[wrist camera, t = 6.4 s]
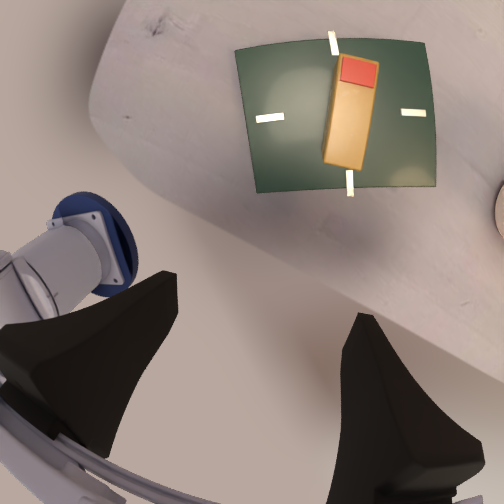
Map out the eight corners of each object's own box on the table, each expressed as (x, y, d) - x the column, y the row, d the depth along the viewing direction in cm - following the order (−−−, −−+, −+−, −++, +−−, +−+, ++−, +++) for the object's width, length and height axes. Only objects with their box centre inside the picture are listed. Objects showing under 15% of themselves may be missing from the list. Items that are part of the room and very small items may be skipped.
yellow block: (351, 158, 14) (362, 173, 10) (320, 152, 14) (322, 164, 11) (365, 73, 11) (381, 60, 8) (333, 66, 12) (339, 50, 8)
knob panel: (266, 187, 18) (257, 201, 16) (246, 53, 15) (232, 43, 12) (419, 181, 16) (437, 195, 13) (407, 46, 12) (424, 35, 9)
